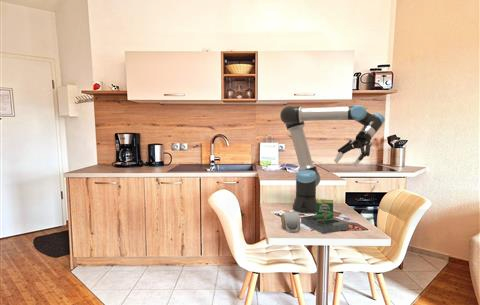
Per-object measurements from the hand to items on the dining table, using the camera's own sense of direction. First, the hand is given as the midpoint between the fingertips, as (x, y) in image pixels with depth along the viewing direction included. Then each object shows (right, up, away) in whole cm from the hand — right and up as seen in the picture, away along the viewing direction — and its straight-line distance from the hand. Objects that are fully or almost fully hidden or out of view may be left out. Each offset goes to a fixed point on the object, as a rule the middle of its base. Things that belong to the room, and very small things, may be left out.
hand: (344, 163), depth 140 cm
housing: (-16, -31, -14) cm, 37 cm away
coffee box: (-16, -31, -14) cm, 37 cm away
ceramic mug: (-33, -31, -18) cm, 48 cm away
